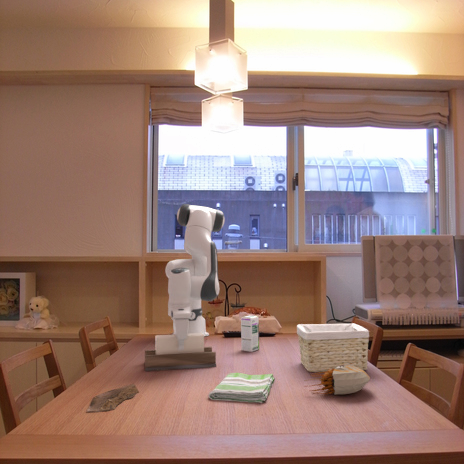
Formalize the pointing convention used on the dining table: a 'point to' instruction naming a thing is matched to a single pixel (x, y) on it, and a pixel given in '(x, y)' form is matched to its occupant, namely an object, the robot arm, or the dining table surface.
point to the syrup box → (250, 333)
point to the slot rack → (179, 360)
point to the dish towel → (243, 388)
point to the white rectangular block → (170, 344)
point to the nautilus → (342, 380)
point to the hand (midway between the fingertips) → (179, 347)
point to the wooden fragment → (112, 398)
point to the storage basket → (332, 346)
